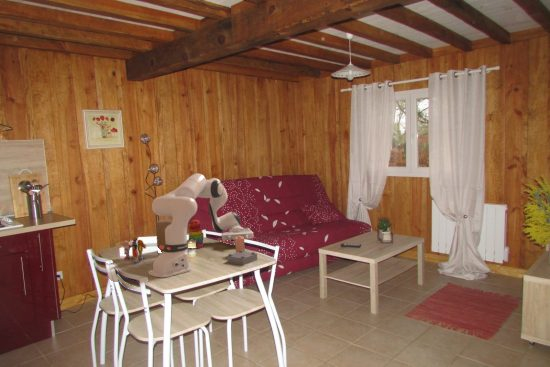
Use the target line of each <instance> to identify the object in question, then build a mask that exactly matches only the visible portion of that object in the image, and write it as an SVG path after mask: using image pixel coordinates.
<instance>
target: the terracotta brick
mask: <svg viewBox="0 0 550 367" xmlns="http://www.w3.org/2000/svg"><path fill="white" fill-rule="evenodd" d="M234 241H235V242H234V244H235V253H236V252H239V250H243V251H245V252H246V250H245V239H244V237H242V236H238V237H235V240H234Z"/></svg>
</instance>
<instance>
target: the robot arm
mask: <svg viewBox="0 0 550 367" xmlns="http://www.w3.org/2000/svg"><path fill="white" fill-rule="evenodd" d="M228 196H229V195H228V192H227V190H226V188H225V186H224V184H223V183H222V182H221V180H220V179H218V178H217V177H216V178H215V177H212V178H209V179H206V176H205V175H203V174H202V173H193V174H191V176H189V177H187V178H186V180H185V181H184V182H182V183H181V184H180V185H179V186H178V187H176V188H175V189H173V190H171V191H170V192H168V193H166V194H163V195H161V196H158V197H155V198H154V199H153V201H152V204H151V210H152V212H153V213H154V215H158V216H160V217H168V218H172V219H173V221H172V224H170V225H168V226H167V227H166V229H165V242H166V243H165V245H164V246H162V245H160V246H159V248H160V249H163V252H162V253H161V254H159V256H157V257H156V258H155V260H154V261H153V263H152V264H153V265H152V269H151V270H148V275H149V276H152V277H154V278H155V277H156V278H169V277H173V276H175V275H181V274H184V273H188V272H191V268H192V265H191V262H190V260H189V259H190V257H189V253H188V252H189V249H188V244H189V242H188V239H187V238H188V236H187V235H188V234H187V230H188V226H189V222H190V220H191V219H192V218H193V217H194V216H195V215H196V214H197V211H198V203H197V201H196V199H197V198H201V199H204V198H205V199H209V201H208V203H207V204H208V205H207V206H208V211H209V216H210V220H211V223H212V228H213V230H214V232H216V233H219V234H220V237H221V239H222V241H235V237H238V236H242V237H244V240H247V239H253V238H254V232H253V231H252V230H251V229H250V228H249V227H242V226H241V225H242V221H241V219H240V217H239V215H238V213H236V212H235V211H229V212H227V213H225V214H223V215H221V216H219V217H218V215H217V212H218V210H219V209H221V208H222V207H223V206H224V205H225V204H226V203H227V202H228ZM228 229H229V232H228V231H227V230H228ZM225 231H227V232H225ZM222 232H223V233H222ZM221 233H222V234H221Z"/></svg>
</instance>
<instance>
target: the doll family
mask: <svg viewBox="0 0 550 367" xmlns="http://www.w3.org/2000/svg"><path fill="white" fill-rule="evenodd" d="M131 241H132V242H131V244H129V243H130V242H129V241H128V240H124V241H123V242H122V245H121V247H123V251H124V252H123V254H124V255H125V257H124V260H130V259H131V257H130V250H132V260H133V261H132V265H138V264H139V263H140V262H143V261H144V259H143V258H144V257H143V250H145V249H146V248H147V245H146V244H145V243H144V241H143V240H142V239H139V236H132V237H131Z"/></svg>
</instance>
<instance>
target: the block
mask: <svg viewBox="0 0 550 367" xmlns="http://www.w3.org/2000/svg"><path fill="white" fill-rule="evenodd" d="M172 221H173V218H171V219H170V218H162V219H160V220H157V221H156V222H155V228H156V229H155V231H156V247H158V248H159V246H160V245H162V246H164V245H165V243H166V242H165V229H166V227H167V226H168V225H170V224H172ZM159 249H160V248H159ZM160 250H161V252H163V249H160Z"/></svg>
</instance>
